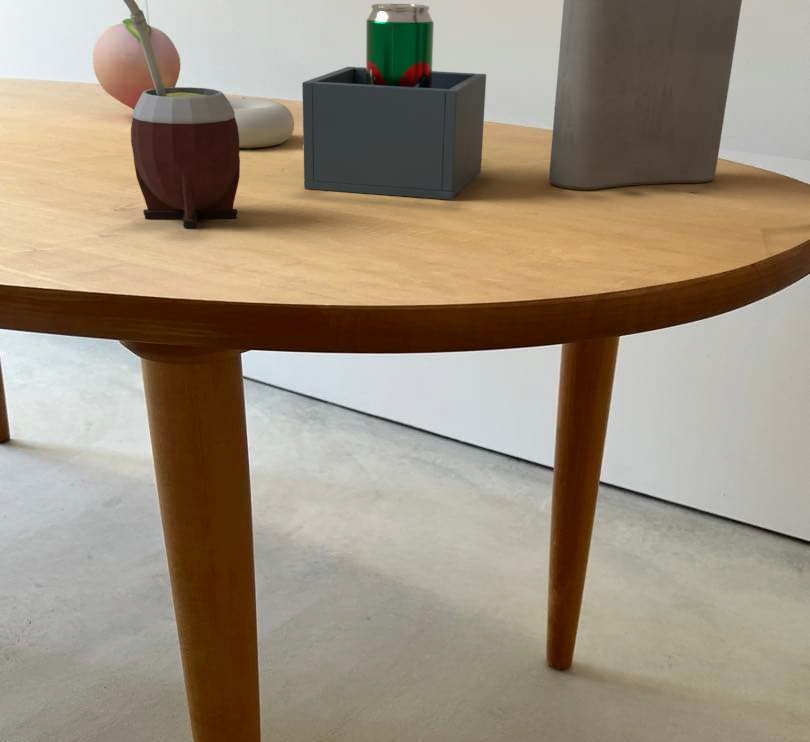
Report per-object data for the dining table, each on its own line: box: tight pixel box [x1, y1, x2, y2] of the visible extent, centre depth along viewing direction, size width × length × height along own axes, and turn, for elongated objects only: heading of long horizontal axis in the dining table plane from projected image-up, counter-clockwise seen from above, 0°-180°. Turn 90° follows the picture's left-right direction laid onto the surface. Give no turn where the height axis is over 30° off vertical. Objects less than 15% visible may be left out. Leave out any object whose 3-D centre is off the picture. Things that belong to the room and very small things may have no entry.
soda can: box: [365, 3, 435, 88], centre depth 86 cm, size 5×5×12 cm
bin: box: [301, 66, 487, 201], centre depth 87 cm, size 12×12×8 cm
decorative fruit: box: [92, 18, 181, 111], centre depth 112 cm, size 9×8×10 cm
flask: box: [548, 0, 743, 191], centre depth 86 cm, size 15×6×20 cm, turn 113°
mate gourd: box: [122, 0, 241, 229], centre depth 72 cm, size 8×8×15 cm
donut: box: [226, 97, 295, 149], centre depth 102 cm, size 10×4×10 cm
